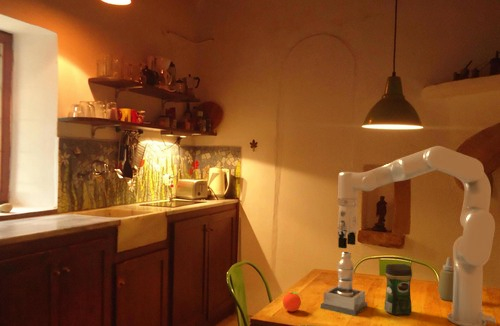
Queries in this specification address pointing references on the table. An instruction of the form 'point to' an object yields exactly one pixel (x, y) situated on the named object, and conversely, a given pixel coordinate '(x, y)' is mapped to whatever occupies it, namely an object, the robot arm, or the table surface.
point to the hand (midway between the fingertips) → (347, 246)
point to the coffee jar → (398, 289)
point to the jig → (344, 301)
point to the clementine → (291, 302)
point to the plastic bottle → (345, 275)
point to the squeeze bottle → (446, 281)
